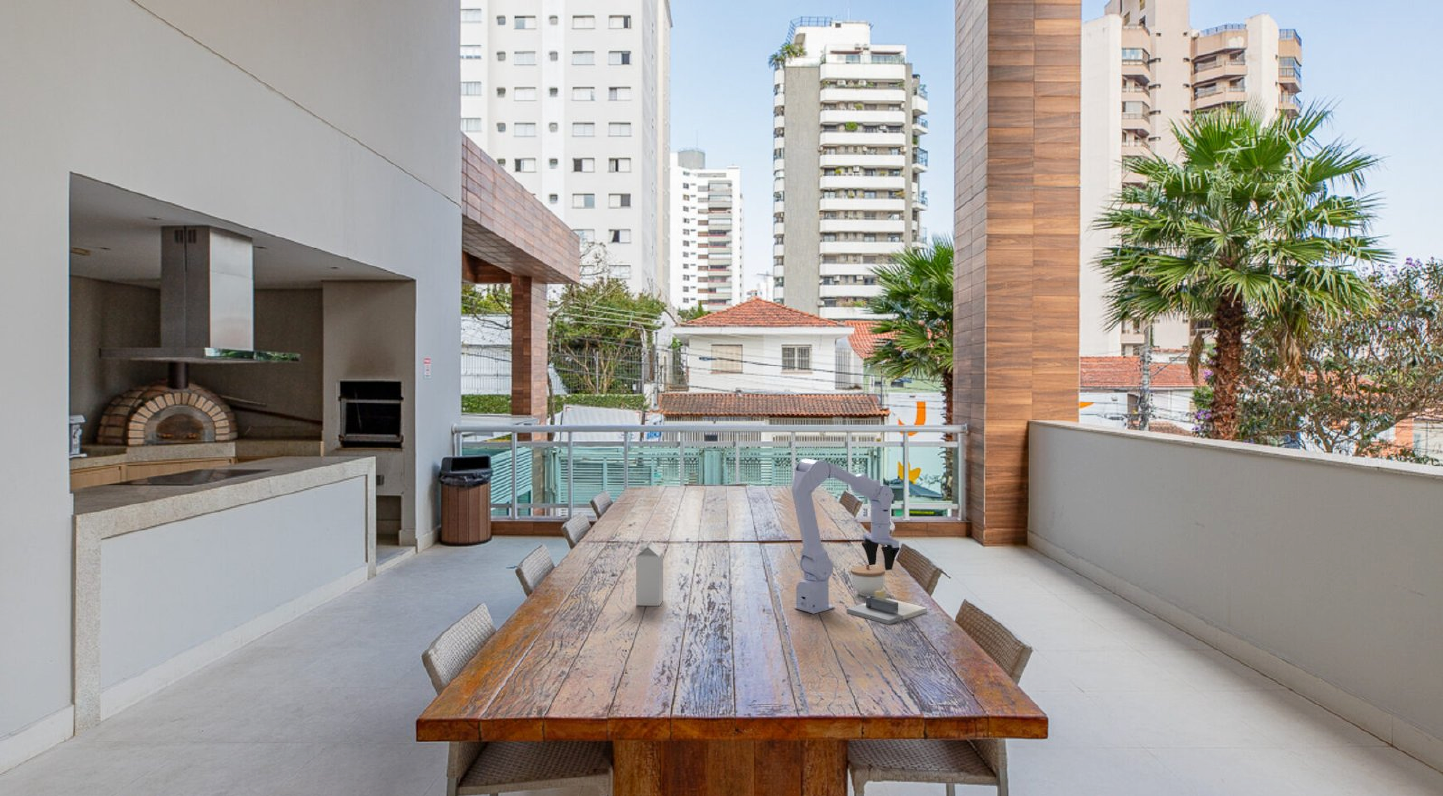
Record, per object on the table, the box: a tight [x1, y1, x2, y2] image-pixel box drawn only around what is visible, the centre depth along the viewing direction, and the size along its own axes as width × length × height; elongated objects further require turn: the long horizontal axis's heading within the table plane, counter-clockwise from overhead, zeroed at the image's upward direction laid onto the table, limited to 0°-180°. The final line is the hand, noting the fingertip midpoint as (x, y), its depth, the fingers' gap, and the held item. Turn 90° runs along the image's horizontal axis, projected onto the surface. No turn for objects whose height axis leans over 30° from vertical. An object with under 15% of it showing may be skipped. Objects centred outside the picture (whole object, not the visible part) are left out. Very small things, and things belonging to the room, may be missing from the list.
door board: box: [846, 589, 928, 625], centre depth 221 cm, size 18×15×4 cm
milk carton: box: [635, 538, 664, 607], centre depth 232 cm, size 7×7×19 cm
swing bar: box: [865, 596, 898, 614], centre depth 219 cm, size 10×3×3 cm, turn 40°
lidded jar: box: [850, 563, 886, 597], centre depth 242 cm, size 11×11×9 cm
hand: (880, 567), depth 235 cm, fingers open, 7 cm apart
